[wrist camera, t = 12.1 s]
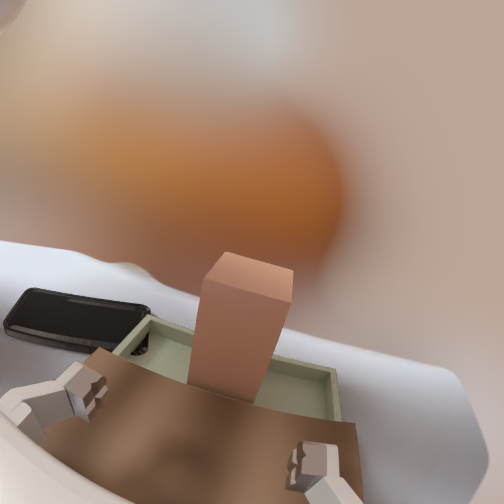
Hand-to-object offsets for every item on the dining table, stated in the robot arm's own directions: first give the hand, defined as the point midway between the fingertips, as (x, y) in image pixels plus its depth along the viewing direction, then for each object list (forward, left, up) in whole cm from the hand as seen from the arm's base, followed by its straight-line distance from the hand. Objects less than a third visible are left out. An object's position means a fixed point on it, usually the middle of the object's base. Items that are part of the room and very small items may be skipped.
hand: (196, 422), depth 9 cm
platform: (0, +1, -8) cm, 8 cm away
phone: (-15, +10, -8) cm, 20 cm away
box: (0, +10, -8) cm, 13 cm away
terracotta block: (0, +10, -7) cm, 12 cm away
